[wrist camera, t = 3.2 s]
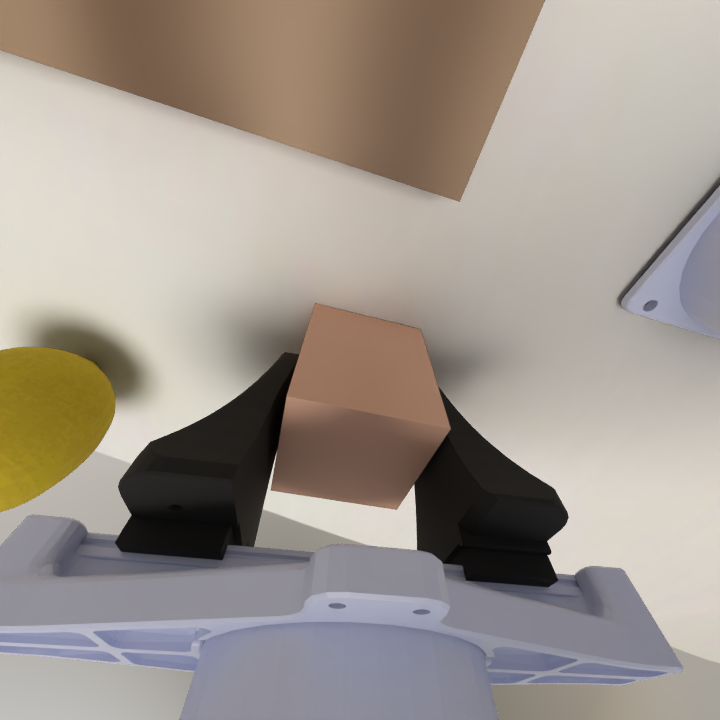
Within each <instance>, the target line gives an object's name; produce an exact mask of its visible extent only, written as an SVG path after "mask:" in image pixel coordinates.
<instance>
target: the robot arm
mask: <svg viewBox="0 0 720 720" xmlns="http://www.w3.org/2000/svg"><path fill="white" fill-rule="evenodd" d="M649 301H650V302H649ZM647 302H649V303H648V304H647V305H646V306H644V305H645V304H646V303H647ZM621 306H622V308H623V309H625V310H627V311H628V312H630V313H633V314H636V315H639V316H643V317H646V318H650V319H653V320H656V321H660V322H663V323H666V324H670V325H673V326H676V327H680V328H683V329H686V330H690V331H693V332H696V333H700V334H703V335H707V336H710V337H713V338H717V339H720V186H719V187H718V188H717V189H716V190H715V192H714V193H713V194H712V195H711V196H710V197H709V199H708V200H707V201H706V202H705V203H704V204H703V206H702V207H701V208H700V209H699V210H698V211H697V213H696V214H695V215H694V216H693V217H692V218H691V220H690V221H689V222H688V223H687V224H686V225H685V227H684V228H683V229H682V230H681V231H680V232H679V234H678V235H677V236H676V237H675V238H674V239H673V241H672V242H671V243H670V244H669V245H668V246H667V247H666V249H665V250H664V251H663V252H662V253H661V254H660V256H659V257H658V258H657V259H656V260H655V261H654V263H653V264H652V265H651V266H650V267H649V268H648V270H647V271H646V272H645V273H644V274H643V275H642V277H641V278H640V279H639V280H638V281H637V282H636V284H635V285H634V286H633V287H632V288H631V289H630V291H629V292H628V293H627V294H626V295H625V296H624V298H623V299H622V302H621ZM298 358H299V354H293V353H286V352H285V353H284V354H282V355H281V357H280V358H279V359H278V360H277V361H276V362H275V363H274V365H273V366H272V367H271V368H270V369H269V370H268V371H267V372H266V373H265V374H264V375H263V376H262V377H260V378H259V379H258V380H257V381H256V382H255V383H254V384H253V385H251V386H250V387H249V388H248V389H247V390H246V391H244V392H243V393H242V394H240V395H239V396H238V397H236V398H235V399H234V400H232V401H231V402H229V403H228V404H226V405H225V406H223V407H222V408H220V409H219V410H217V411H215V412H214V413H212V414H210V415H209V416H207V417H205V418H203V419H201V420H199V421H197V422H195V423H193V424H191V425H189V426H187V427H185V428H183V429H181V430H179V431H176V432H174V433H171V434H169V435H167V436H164V437H162V438H159V439H157V440H154V441H152V442H150V443H149V444H148V445H147V446H146V448H145V449H144V450H143V451H142V452H141V453H140V454H139V455H138V457H137V458H136V459H135V461H134V462H133V463H132V465H131V466H130V467H129V469H128V470H127V472H126V473H125V474H124V476H123V477H122V479H121V480H120V482H119V486H118V488H119V491H120V494H121V497H122V498H123V500H124V502H125V504H126V506H127V507H128V509H129V511H130V513H131V515H132V516H131V517H130V519H129V520H128V522H127V524H126V525H125V527H124V528H123V530H122V532H121V533H120V535H110V534H99V533H88V532H87V529H86V527H85V525H84V524H83V523H81V522H80V521H78V520H75V519H71V518H65V517H53V516H42V515H29V516H27V517H26V518H25V519H24V520H23V521H22V522H21V524H20V525H19V526H18V527H17V528H16V529H15V530H14V531H13V532H12V533H11V535H10V536H9V537H8V538H7V539H6V540H5V541H4V542H3V543H2V544H1V546H0V654H14V655H15V654H16V655H31V656H43V657H56V658H66V659H77V660H87V661H96V662H107V663H115V664H124V665H133V666H142V667H151V668H161V669H170V670H180V671H188V672H194V675H193V679H192V682H191V685H190V688H189V691H188V694H187V697H186V701H185V703H184V707H183V710H182V713H181V716H180V719H179V720H499V719H498V715H497V710H496V706H495V702H494V698H493V693H492V689H491V685H502V684H503V685H508V684H596V685H628V684H632V683H636V682H640V681H645V680H649V679H653V678H657V677H661V676H666V675H670V674H674V673H679V672H682V671H683V667H682V665H681V663H680V661H679V660H678V658H677V657H676V655H675V653H674V652H673V650H672V648H671V647H670V645H669V643H668V642H667V640H666V638H665V637H664V635H663V634H662V632H661V630H660V629H659V627H658V625H657V624H656V622H655V620H654V619H653V617H652V615H651V614H650V612H649V611H648V609H647V607H646V606H645V604H644V602H643V601H642V599H641V597H640V596H639V594H638V592H637V591H636V589H635V588H634V586H633V584H632V583H631V581H630V579H629V578H628V576H627V574H626V573H625V571H624V570H623V569H621V568H611V567H600V566H589V567H585V568H583V569H581V570H579V571H578V572H577V573H576V574H575V575H566V574H555V571H554V569H553V567H552V565H551V562H550V560H549V558H548V556H547V555H550V554H551V549H550V547H549V545H548V542H547V541H548V540H549V539H550V538H551V537H553V536H554V535H555V534H556V533H557V532H559V531H560V530H561V529H562V528H563V527H564V526H565V525H566V523H567V520H568V513H567V511H566V509H565V507H564V505H563V504H562V502H561V500H560V498H559V496H558V495H557V493H556V491H555V489H554V488H552V487H551V486H549V485H547V484H546V483H544V482H543V481H541V480H539V479H538V478H536V477H535V476H533V475H532V474H530V473H528V472H527V471H525V470H524V469H523V468H521V467H520V466H518V465H517V464H516V463H514V462H513V461H511V460H510V459H509V458H507V457H506V456H505V455H504V454H502V453H501V452H500V451H499V450H497V449H496V448H495V447H494V446H493V445H491V444H490V443H489V442H488V441H487V440H486V439H485V438H483V437H482V436H481V435H480V434H479V433H478V432H477V431H476V430H475V429H474V428H473V427H472V426H471V425H470V424H469V423H468V422H467V421H466V420H465V418H464V417H463V416H462V415H461V414H460V413H459V412H458V411H457V409H456V408H455V407H454V406H453V405H452V403H451V402H450V401H449V400H448V398H447V397H446V396H445V395H444V393H443V392H442V391H441V389H440V388H439V387H438V388H439V391H440V395H441V398H442V401H443V405H444V408H445V411H446V415H447V418H448V421H449V424H450V428H451V429H450V431H449V432H448V434H447V435H446V437H445V438H444V440H443V441H442V443H441V444H440V446H439V447H438V449H437V450H436V452H435V453H434V455H433V456H432V458H431V459H430V461H429V462H428V464H427V465H426V467H425V468H424V470H423V471H422V473H421V474H420V476H419V477H418V479H417V480H416V482H415V483H414V485H415V500H416V521H417V550H409V549H398V548H387V547H376V546H365V545H354V544H331V545H328V546H325V547H321V548H319V549H318V550H317V551H316V552H315V553H314V552H304V551H293V550H281V549H270V548H258V547H254V544H255V540H256V535H257V531H258V526H259V521H260V517H261V513H262V509H263V504H264V500H265V496H266V492H267V488H268V483H269V479H270V475H271V471H272V467H273V463H274V459H275V456H276V453H277V450H278V444H279V438H280V433H281V427H282V421H283V415H284V409H285V403H286V397H287V393H288V390H289V387H290V384H291V380H292V377H293V374H294V371H295V367H296V364H297V361H298Z"/></svg>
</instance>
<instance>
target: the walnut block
mask: <svg viewBox="0 0 720 720" xmlns="http://www.w3.org/2000/svg"><path fill="white" fill-rule="evenodd" d="M544 2H545V0H0V50H2V51H5V52H8V53H11V54H14V55H17V56H20V57H23V58H26V59H29V60H32V61H35V62H38V63H41V64H44V65H47V66H50V67H54V68H57V69H60V70H63V71H66V72H69V73H72V74H75V75H78V76H81V77H84V78H87V79H90V80H93V81H96V82H99V83H102V84H105V85H108V86H111V87H114V88H117V89H120V90H123V91H126V92H129V93H132V94H135V95H138V96H141V97H144V98H147V99H150V100H153V101H156V102H159V103H162V104H165V105H168V106H171V107H174V108H177V109H181V110H184V111H187V112H190V113H193V114H196V115H199V116H202V117H205V118H208V119H211V120H214V121H217V122H220V123H223V124H226V125H229V126H232V127H235V128H238V129H241V130H244V131H247V132H250V133H253V134H256V135H259V136H262V137H265V138H268V139H271V140H274V141H277V142H280V143H283V144H286V145H289V146H292V147H295V148H298V149H301V150H304V151H308V152H311V153H314V154H317V155H320V156H323V157H326V158H329V159H332V160H335V161H338V162H341V163H344V164H347V165H350V166H353V167H356V168H359V169H362V170H365V171H368V172H371V173H374V174H377V175H380V176H383V177H386V178H389V179H392V180H395V181H398V182H401V183H404V184H407V185H410V186H413V187H416V188H419V189H422V190H425V191H428V192H432V193H435V194H438V195H441V196H444V197H447V198H450V199H453V200H456V201H459V202H460V200H461V197H462V195H463V193H464V190H465V188H466V185H467V183H468V181H469V178H470V176H471V174H472V171H473V169H474V167H475V164H476V162H477V160H478V157H479V155H480V152H481V150H482V148H483V145H484V143H485V141H486V138H487V136H488V134H489V131H490V129H491V127H492V124H493V122H494V119H495V117H496V115H497V112H498V110H499V108H500V105H501V103H502V101H503V98H504V96H505V94H506V91H507V89H508V86H509V84H510V82H511V79H512V77H513V75H514V72H515V70H516V68H517V65H518V63H519V61H520V58H521V56H522V53H523V51H524V49H525V46H526V44H527V42H528V39H529V37H530V35H531V32H532V30H533V28H534V25H535V23H536V20H537V18H538V16H539V13H540V11H541V9H542V6H543V4H544Z"/></svg>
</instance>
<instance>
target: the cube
mask: <svg viewBox="0 0 720 720" xmlns="http://www.w3.org/2000/svg"><path fill="white" fill-rule="evenodd" d="M450 429H451V428H450V424H449V421H448V418H447V415H446V411H445V408H444V405H443V401H442V398H441V395H440V391H439V388H438V385H437V382H436V378H435V375H434V372H433V368H432V365H431V362H430V358H429V355H428V352H427V348H426V345H425V342H424V339H423V335H422V332H421V329H417V328H413V327H409V326H405V325H401V324H397V323H393V322H389V321H385V320H380V319H376V318H372V317H368V316H364V315H360V314H356V313H352V312H348V311H344V310H340V309H336V308H332V307H328V306H324V305H320V304H316V303H315V306H314V309H313V312H312V315H311V319H310V322H309V325H308V328H307V332H306V335H305V338H304V341H303V345H302V348H301V351H300V354H299V358H298V361H297V364H296V367H295V371H294V374H293V377H292V380H291V384H290V387H289V390H288V393H287V397H286V403H285V409H284V415H283V421H282V427H281V433H280V438H279V444H278V450H277V456H276V462H275V468H274V474H273V480H272V486H271V491H278V492H284V493H291V494H297V495H304V496H310V497H317V498H323V499H330V500H337V501H343V502H350V503H356V504H363V505H369V506H376V507H382V508H389V509H395V510H397V508H398V507H399V505H400V504H401V502H402V501H403V500H404V498H405V497H406V495H407V494H408V492H409V491H410V489H411V488H412V486H413V485H414V483H415V482H416V480H417V479H418V477H419V476H420V474H421V473H422V471H423V470H424V468H425V467H426V465H427V464H428V462H429V461H430V459H431V458H432V456H433V455H434V453H435V452H436V450H437V449H438V447H439V446H440V444H441V443H442V441H443V440H444V438H445V437H446V435H447V434H448V432H449V431H450Z"/></svg>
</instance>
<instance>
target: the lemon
mask: <svg viewBox="0 0 720 720" xmlns="http://www.w3.org/2000/svg"><path fill="white" fill-rule="evenodd" d="M114 414H115V393H114V391H113V388H112V385H111V383H110V381H109V379H108V378H107V377H106V375H105V374H104V373H103V372H102V371H101V370H100V369H99V368H98V366H97V364H96V363H95V362H93V361H92V360H88V359H84V358H83V357H81V356H78V355H76V354H73V353H70V352H68V351H63V350H58V349H53V348H45V347H18V348H11V349H5V350H1V351H0V512H3V511H5V510H9V509H12V508H15V507H17V506H19V505H22V504H23V503H26V502H28V501H30V500H32V499H34V498H35V497H37V496H39V495H40V494H42V493H43V492H45V491H46V490H48V489H49V488H51V487H52V486H54V485H55V484H57V483H58V482H60V481H61V480H62V479H64V478H65V477H66V476H68V475H69V474H70V473H71V472H72V471H74V470H75V469H76V468H77V467H79V465H81V463H83V462H84V461H85V460H86V459H87V458H88V457H89V456H90V455H91V454H92V453H93V451H94V450H95V449H96V448H97V446H98V445H99V444H100V442H101V441H102V439H103V437H104V436H105V434H106V432H107V430H108V429H109V427H110V425H111V423H112V420H113V417H114Z"/></svg>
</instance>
